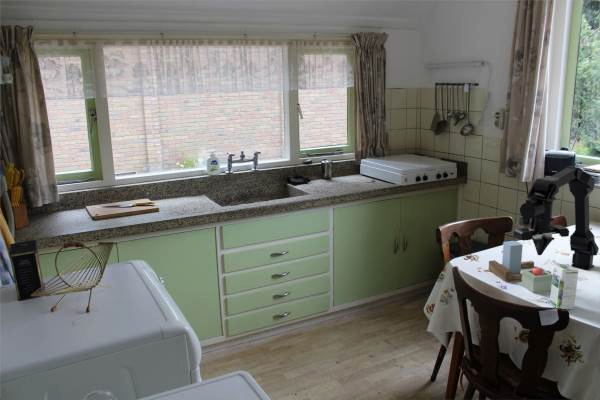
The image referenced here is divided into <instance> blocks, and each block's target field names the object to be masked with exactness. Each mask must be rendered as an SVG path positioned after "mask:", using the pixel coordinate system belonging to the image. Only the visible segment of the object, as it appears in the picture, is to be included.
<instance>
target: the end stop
mask: <svg viewBox="0 0 600 400" xmlns="http://www.w3.org/2000/svg"><path fill="white" fill-rule="evenodd" d="M501 264H502V263H499V262H498V261H497V260H488V271H489V272H490V273H492V274H493V275H495V276H496V277H498V278H500V279H501V280H502V281H503V282H505V283H506V282H507V283H508V282H512V281H511V277H512V271H511V270H509V269H507V268H506V267H504V266H503V265H501Z"/></svg>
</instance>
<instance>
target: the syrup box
mask: <svg viewBox="0 0 600 400" xmlns="http://www.w3.org/2000/svg"><path fill="white" fill-rule="evenodd" d="M552 274H553V276H552V286H551V291H550V296H549V297H550V298H549V305H551V306H552V307H553V308H555V307H556V308H564V309H571V310H574V309H575V304H576V296H577V295H576V293H577V286H578V276H579V269H578V268H576V267H573V266H571V265H570V263H558V264H553V269H552ZM556 308H555V309H556Z"/></svg>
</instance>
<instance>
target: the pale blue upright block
mask: <svg viewBox="0 0 600 400" xmlns="http://www.w3.org/2000/svg"><path fill="white" fill-rule="evenodd" d="M522 257H523V244H522V243H520V242H519V241H516V240H511V241H509V240H508V241H503V245H502V261H501V264H502V265H503V266H504V267H506V268H507V269H509V270H511V271H512V274H521V273H522V271H521V269H522V268H521V262H522Z"/></svg>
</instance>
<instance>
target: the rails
mask: <svg viewBox="0 0 600 400" xmlns="http://www.w3.org/2000/svg"><path fill="white" fill-rule="evenodd" d="M500 264H501V265H502V263H500ZM527 268H528V269H529V268H535V262H534V261H532V260H529V261H521V269H527ZM546 271H547V272H549V273H551V274H552V271H550V270H548V269H547V270H546ZM514 281H515V282H516V281H522V272H521V273H520V274H512V277H511V281H510V282H514Z"/></svg>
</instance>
